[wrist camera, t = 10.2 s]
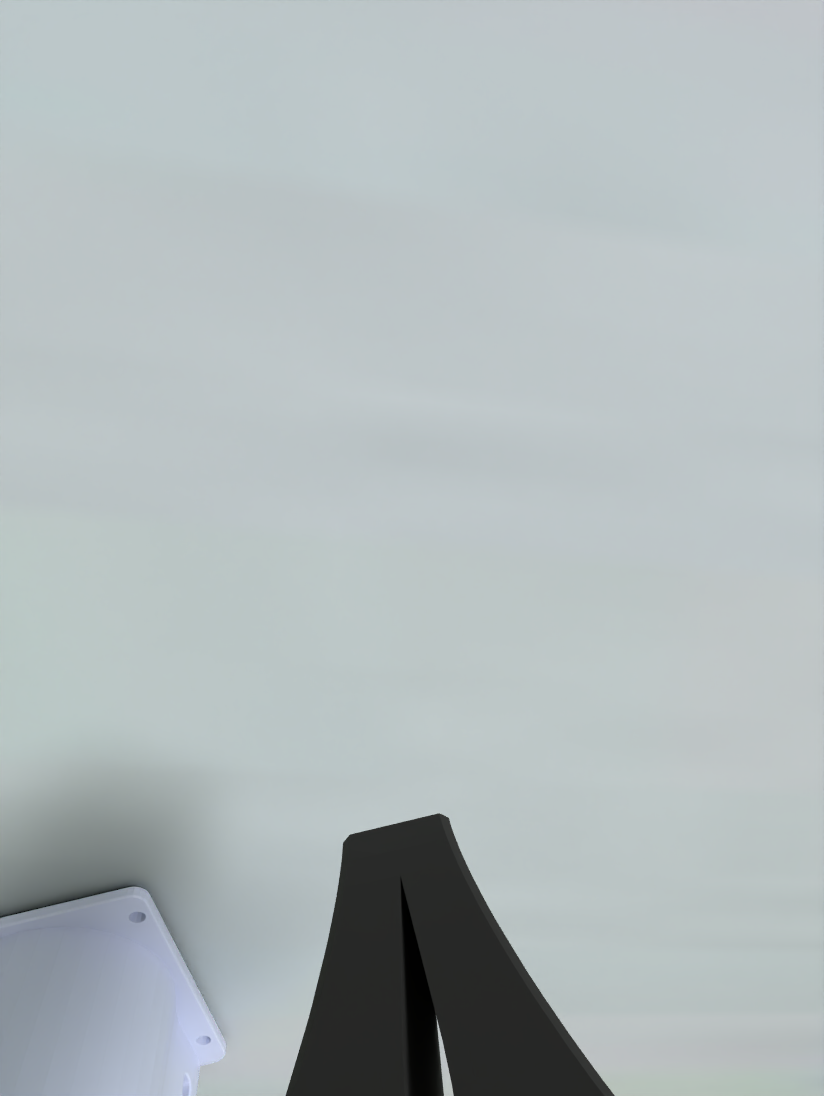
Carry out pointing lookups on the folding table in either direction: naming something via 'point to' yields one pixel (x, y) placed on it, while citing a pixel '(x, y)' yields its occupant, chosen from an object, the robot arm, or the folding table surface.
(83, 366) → the folding table surface
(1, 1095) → the robot arm
